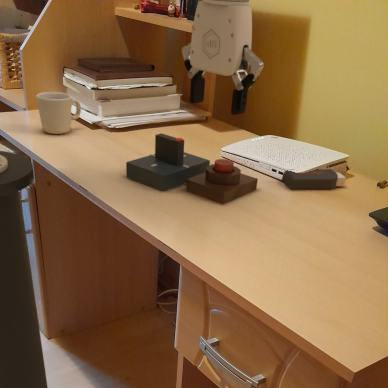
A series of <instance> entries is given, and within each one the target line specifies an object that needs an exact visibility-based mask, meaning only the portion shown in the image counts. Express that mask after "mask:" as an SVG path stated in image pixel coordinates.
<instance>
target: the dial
mask: <svg viewBox="0 0 388 388" xmlns="http://www.w3.org/2000/svg"><path fill="white" fill-rule="evenodd" d="M154 136H155V137H154V148H155V149H154V154H155V158H157V159H160V160H163V161H166V162H169V163H172V164H175V165H180V164H183V157H184V152H185V140H184V138H182V137H175V136H172V135H169V134H165V133H162V132H161V133H157V134H155V135H154Z"/></svg>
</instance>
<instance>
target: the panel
mask: <svg viewBox="0 0 388 388" xmlns="http://www.w3.org/2000/svg"><path fill="white" fill-rule="evenodd" d="M210 165H211V160H210V159H207V158H204V157H201V156H198V155H194V154H191V153H188V152H185V151H184V157H183V164H180V165H175V164H172V163H169V162H166V161H163V160H160V159H157V158H155V153H149V155H146V156H143V157H139V158H135V159H131V160H129V161H126V162H125V170H126V173H125V174H126V178H128V179H131V180H133V181H136V182H139V183H141V184H144V185H147V186H149V187H152V188H155V189H157V190H160V191H163V192H165V191H168V190H171V189H173V188H176V187H178V186H179V187H180V186H181V185H186V179H188V178H191V177H194V176H197V175H200V174H202V173H205V172H206V168H207V166H210Z"/></svg>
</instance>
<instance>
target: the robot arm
mask: <svg viewBox="0 0 388 388" xmlns="http://www.w3.org/2000/svg"><path fill="white" fill-rule="evenodd" d="M249 3H250V0H198V1H197V4H196V5H197V6H196V8H195V9H196V10H195V13H194V19H193V23H192V24H193V25H192V31H191V40H190V41H191V42H189V43H187V44H186V45H184V46H183V47H181V53H182V57H183V60H184V62H183V63H184V67H185V69H186V70H187V77H188V79H190V87H189V88H190V90H189V91H190V92H189V103H190V104H199V103H202V102H204V101H205V88H206V87H205V86H206V77H204V76H203V75H205V73H206V72H207V73H211V74H215V75H220V76H226V77H229V76H230V77H231V78H232V81H233V83H234V85H235V89H233V90H232V95H231V96H232V98H231V107H230V113H231V115H233V116H238V115H241V114H242V115H243V114H245V111H246V108H247V102H248V93H249V92H248V91H249V90H250V89H251V88H252V86H253V85H254V84H255V83H256V82H257V81H258V80H259V76H260V74H261V73H262V71H263V69H264V67H265V63H264V62H263V61H262V59H261V58H260V57H258V55H256V54H255V52H254V51H252V42H253V41H252V40H253V14H252V12H253V11H252V5H249ZM249 68H250V70H249ZM248 71H249V72H248ZM7 167H8V162H7V159H6V158H5V157H3V156H2V155H0V173H2V172H4V171H5V170H6V169H7Z"/></svg>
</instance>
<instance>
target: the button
mask: <svg viewBox="0 0 388 388" xmlns="http://www.w3.org/2000/svg"><path fill="white" fill-rule="evenodd" d="M233 166H235V163H234V161H233V160H230V159H227V158H220V159H216V160H214V171H215V172H218V173H232V172H233Z"/></svg>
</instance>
